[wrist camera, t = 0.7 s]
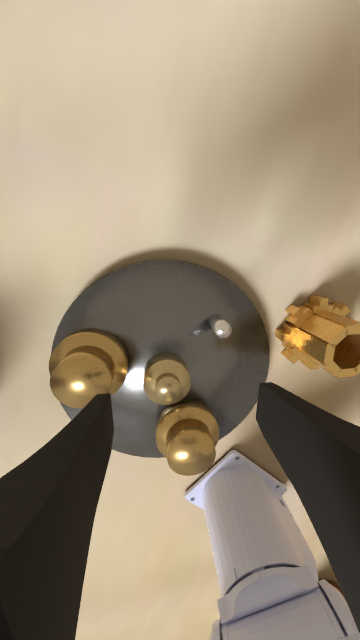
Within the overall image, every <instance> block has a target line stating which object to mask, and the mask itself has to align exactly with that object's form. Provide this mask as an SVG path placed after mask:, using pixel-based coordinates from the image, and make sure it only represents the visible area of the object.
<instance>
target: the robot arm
mask: <svg viewBox="0 0 360 640" xmlns="http://www.w3.org/2000/svg"><path fill="white" fill-rule="evenodd" d="M256 420H257V422H258V424H259V427H260V429H261V431H262V433H263V436H264V438H265V440H266V441H267V443H268V445H269V446H270V448H271V450H272V451H273V453H274V455H275V456H276V458H277V460H278V461H279V463H280V465H281V466H282V468H283V470H284V471H285V473H286V475H287V476H288V478H289V480H290V481H291V483H292V485H293V486H294V488H295V490H296V492H297V494H298V495H299V497H300V499H301V502H302V504H303V506H304V508H305V510H306V512H307V514H308V516H309V518H310V520H311V522H312V524H313V526H314V529H315V531H316V533H317V535H318V537H319V539H320V541H321V544H322V546H323V548H324V550H325V552H326V555H327V557H328V559H329V562H330V564H331V566H332V569H333V571H334V573H335V575H336V578H337V580H338V582H339V585H340V587H341V589H342V592H343V594H344V597H345V599H346V600H345V599H344V597H343V596H342V594H341V593H340V592H339V591H338V589H336V588H335V587H334V586H332V585H331V584H329V583H328V582H327V581H326V580H324V579H322V580H321V581H318V572H317V567H316V562H315V559H314V557H313V554H312V552H311V550H310V548H309V546H308V544H307V542H306V540H305V539H304V537H303V535H302V533H301V531H300V529H299V527H298V525H297V523H296V522H295V520H294V518H293V516H292V514H291V512H290V510H289V508H288V506H287V505H286V503H285V501H284V499H283V497H282V495H283V494H284V493H285V492H286V490H287V488H286V486H285V485H284V484H282V483H281V482H280V481H278V480H277V479H275V478H274V477H273V476H271V475H270V474H269V473H267V472H266V471H264V470H263V469H262V468H260V467H259V466H257V465H256V464H255V463H253V462H252V461H250V460H249V459H248V458H246V457H245V456H243V455H242V454H241V453H239V452H238V451H236V450H232V451H230V452H229V453H228V454H227V455H226V456H225V457H224V458H223V459H221V460H220V461H219V462H218V463H217V464H216V465H215V466H214V467H213V468H212V469H211V470H209V471H208V472H207V473H206V474H205V475H204V476H203V477H202V478H201V479H200V480H199V481H197V482H196V483H195V484H194V485H193V486H192V487H191V488H190V489H189V490H188V491H187V492H186V493H185V499H186V500H188V501H190V502H191V503H193V504H195V505H196V506H198V507H200V508H202V509H203V510H204V512H205V517H206V522H207V527H208V532H209V537H210V542H211V547H212V552H213V557H214V562H215V567H216V572H217V577H218V582H219V587H220V592H221V597H222V598H219V599H218V600H217V603H218V608H219V614H220V619H221V620H216V621H215V622H214V623H213V626H212V632H211V635H210V638H209V640H360V427H359V426H356V425H354V424H352V423H349V422H347V421H345V420H343V419H340V418H338V417H336V416H334V415H332V414H330V413H328V412H326V411H324V410H322V409H320V408H318V407H316V406H314V405H313V404H311V403H309V402H307V401H305V400H303V399H302V398H300V397H298V396H296V395H294V394H293V393H291V392H289V391H287V390H285V389H284V388H282V387H280V386H278V385H276V384H274V383H272V382H269V383H259V392H258V402H257V411H256ZM113 435H114V423H113V413H112V403H111V394H110V393H105V394H97V395H96V396H95V397H94V398H93V399H92V400H91V401H90V402H89V403H88V404H87V405H86V406H85V407H84V408H83V409H82V410H81V411H80V412H79V413H78V414H77V415H76V416H75V417H74V418H73V419H72V420H71V421H70V422H69V423H68V424H67V425H66V426H65V427H64V428H63V429H62V430H61V431H60V432H59V433H58V434H57V435H56V436H55V437H54V438H52V439H51V440H50V441H49V442H48V443H47V444H45V445H44V446H43V447H42V448H41V449H39V450H38V451H37V452H36V453H34V454H33V455H32V456H31V457H29V458H28V459H27V460H25V461H24V462H23V463H21V464H20V465H18V466H17V467H16V468H14V469H13V470H11V471H10V472H8V473H7V474H6V475H4V476H3V477H1V478H0V640H75V635H76V628H77V621H78V615H79V608H80V601H81V595H82V588H83V582H84V576H85V569H86V563H87V557H88V551H89V545H90V539H91V534H92V528H93V522H94V517H95V513H96V508H97V504H98V500H99V496H100V493H101V489H102V485H103V481H104V477H105V474H106V470H107V466H108V462H109V458H110V454H111V449H112V442H113Z"/></svg>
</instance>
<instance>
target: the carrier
mask: <svg viewBox="0 0 360 640" xmlns="http://www.w3.org/2000/svg"><path fill="white" fill-rule="evenodd" d="M268 367H269V344H268V337H267V333H266V330H265V326H264V324H263V321H262V319H261V317H260V314H259V313H258V311H257V309H256V308H255V306H254V305H253V303H252V302H251V301H250V299H249V298H248V297H247V296H246V295H245V294H244V292H243V291H242V290H240V289H239V288H238V287H237V286H236V285H235V284H234V283H232V282H231V281H229V280H228V279H226V278H225V277H223V276H222V275H220V274H218V273H216V272H214V271H212V270H209V269H207V268H205V267H202V266H198V265H195V264H192V263H188V262H182V261H175V260H154V261H145V262H140V263H136V264H132V265H128V266H125V267H123V268H120V269H118V270H115V271H113V272H111V273H110V274H108V275H106V276H104V277H103V278H101V279H99V280H97V281H96V282H95V283H93V284H92V285H91V286H90V287H88V288H87V289H86V290H84V291H83V292H82V294H81V295H80V296H79V297H78V298H77V299H76V300H75V301H74V302H73V303H72V305H71V306H70V307H69V309H68V310H67V312H66V313H65V315H64V316H63V318H62V320H61V322H60V324H59V326H58V329H57V332H56V335H55V338H54V341H53V346H52V352H51V357H50V361H49V372H50V376H51V378H50V387H51V390H52V392H53V394H54V396H55V397H56V398H57V399H58V400H59V401H60V403H61V405H62V407H63V408H64V410H65V411H66V413H67V414H68V416H69V417H70V419H71V420H72V419H73V418H74V417H75V416H76V415H77V414H78V413H79V412H80V411H81V410H82V409H83V408H84V407H85V406H86V405H87V404H88V403H89V402H90V401H91V400H92V399H93V398H94V397H95V396H96V395H97V394H105V393H110V394H111V403H112V413H113V423H114V435H113V442H112V449H113V450H116V451H119V452H121V453H125V454H129V455H133V456H141V457H155V458H160V457H166V458H167V460H168V464H169V466H170V468H171V469H172V470H173V471H174V472H176V473H178V474H181V475H186V476H190V475H196V474H199V473H202V472H204V471H205V470H207V469H208V468H209V467H210V466H211V465H212V464H213V462H214V460H215V456H216V451H215V446H216V444H217V442H218V440H220V439H221V438H223V437H224V436H226V435H227V434H228V433H230V432H231V431H232V430H233V429H234V428H236V427H237V426H238V425H239V424H240V423H241V422H242V421H243V420H244V419H245V418H246V416H247V415H248V414H249V412H250V411H251V410H252V408H253V407H254V405H255V404H256V402H257V400H258V392H259V383H265V381H266V378H267V374H268Z"/></svg>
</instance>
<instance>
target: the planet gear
mask: <svg viewBox="0 0 360 640" xmlns="http://www.w3.org/2000/svg"><path fill="white" fill-rule="evenodd" d="M328 300H329V298H326V297H322V296H319V295H314V296H310V302H309V303H304V306H301V305H299V306H298V307H295V306H293V305H290V306H289V307H288V308H287V309H286V310H285V311H286V312H287V313H288V314H289V316H288V317H287V318H286V319H285V320H286V321H287V322H288V323H283V329H276V335H275V337H277V338H278V339H280V340H281V341H282V342H283V343H284V344H283V346H284V347H285V348H286V349H285V350H284V351H283V352H282V354H283V355H284V356H285V357H286V358H287V359H288V360H289V361H291V362H292V363H293V364H294V363H295V362H296V361H298V360H300V361H301V362H302V363H303V364H304V365H306V366H307V367H308V368H310V369H318V365H319V366H320V367H322V368H323V369H325V370H326V371H327V372H329V373H330V374H332V375H333V376H335V377H337V378H339V377H350V376H356V374H357V375H358V374H359V373H360V322H358V321H355V320H353V319H350V318H347V317H345V316H346V315H347V314H348V313H349V312H350V311H351V310H350V309H349V308H348V307H347V305H343V304H340V303H336V302H334V303H333V304H332V305H331V304H328Z"/></svg>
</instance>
